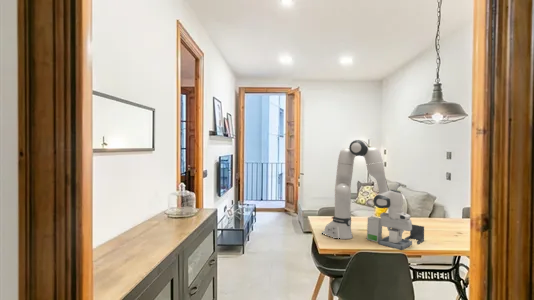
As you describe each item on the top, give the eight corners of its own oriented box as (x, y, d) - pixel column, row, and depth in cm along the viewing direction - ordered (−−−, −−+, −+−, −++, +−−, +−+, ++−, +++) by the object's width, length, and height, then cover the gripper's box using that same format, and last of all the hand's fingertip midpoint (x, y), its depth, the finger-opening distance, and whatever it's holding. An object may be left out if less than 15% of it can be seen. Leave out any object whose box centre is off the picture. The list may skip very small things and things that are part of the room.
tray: (378, 244, 201) (378, 240, 201) (388, 239, 211) (388, 235, 211) (402, 250, 189) (402, 246, 189) (412, 244, 200) (412, 240, 200)
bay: (404, 241, 207) (404, 226, 207) (410, 238, 214) (410, 224, 214) (418, 244, 201) (418, 229, 200) (424, 241, 208) (424, 226, 208)
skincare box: (366, 239, 210) (366, 217, 210) (371, 237, 215) (371, 215, 215) (378, 242, 205) (378, 219, 204) (382, 240, 209) (382, 217, 209)
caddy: (388, 241, 199) (388, 229, 199) (394, 238, 205) (394, 227, 205) (396, 243, 196) (396, 231, 196) (402, 240, 201) (402, 228, 201)
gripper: (378, 212, 206) (378, 232, 206) (409, 217, 191) (409, 239, 191) (382, 211, 210) (382, 231, 210) (413, 216, 195) (413, 237, 195)
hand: (395, 235), depth 200 cm, fingers closed on caddy, 5 cm apart
